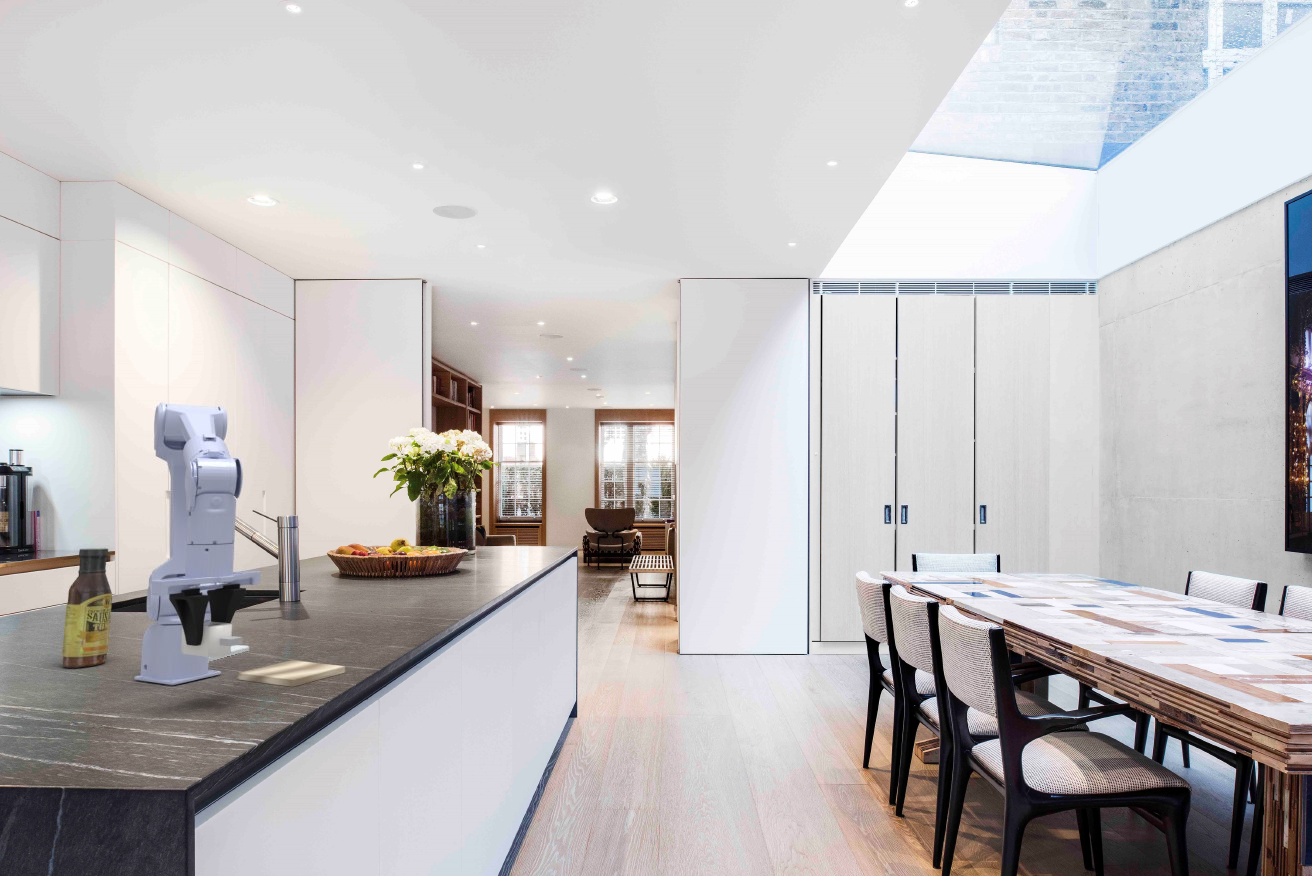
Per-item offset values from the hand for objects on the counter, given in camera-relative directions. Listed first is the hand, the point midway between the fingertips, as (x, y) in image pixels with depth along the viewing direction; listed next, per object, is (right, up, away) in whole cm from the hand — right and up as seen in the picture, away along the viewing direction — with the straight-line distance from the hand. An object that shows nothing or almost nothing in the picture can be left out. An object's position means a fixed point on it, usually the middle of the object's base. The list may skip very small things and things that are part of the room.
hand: (206, 642), depth 102 cm
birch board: (+4, -10, +16) cm, 19 cm away
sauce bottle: (-36, -11, +25) cm, 45 cm away
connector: (0, -1, 0) cm, 1 cm away
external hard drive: (-19, -12, +31) cm, 38 cm away
